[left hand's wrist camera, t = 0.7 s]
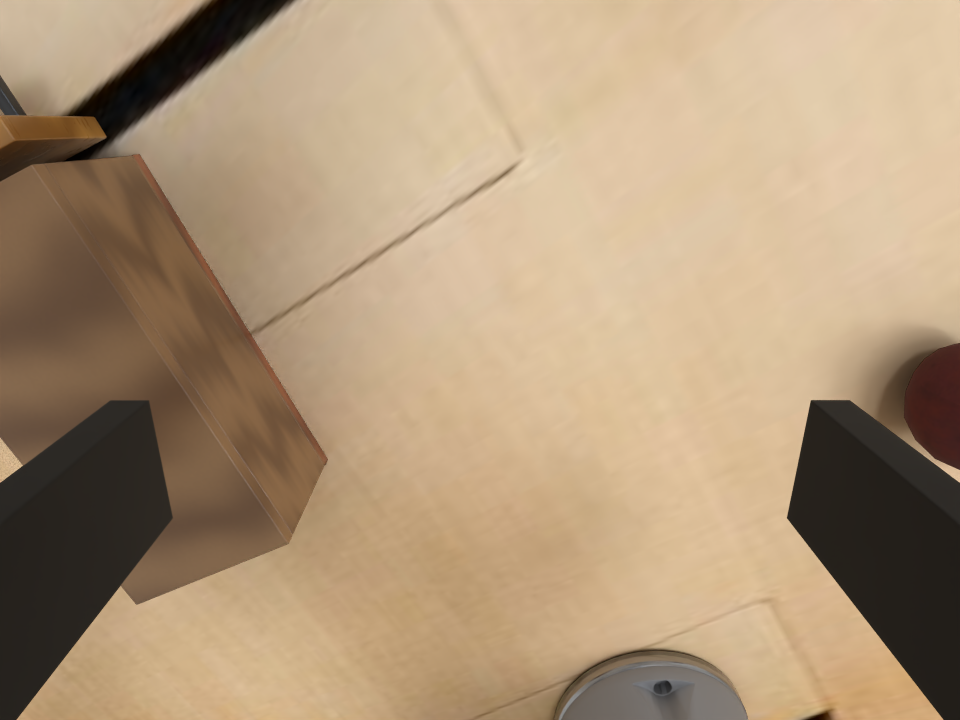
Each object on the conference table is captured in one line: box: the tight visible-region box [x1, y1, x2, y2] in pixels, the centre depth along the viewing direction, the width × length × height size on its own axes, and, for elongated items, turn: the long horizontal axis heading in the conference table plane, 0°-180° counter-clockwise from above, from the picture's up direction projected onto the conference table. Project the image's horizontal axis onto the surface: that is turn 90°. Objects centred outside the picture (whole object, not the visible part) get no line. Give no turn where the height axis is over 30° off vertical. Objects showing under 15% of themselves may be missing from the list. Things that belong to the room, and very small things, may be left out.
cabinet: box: [0, 154, 328, 604], centre depth 36 cm, size 22×10×9 cm, turn 25°
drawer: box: [0, 76, 106, 181], centre depth 34 cm, size 26×9×7 cm, turn 25°
